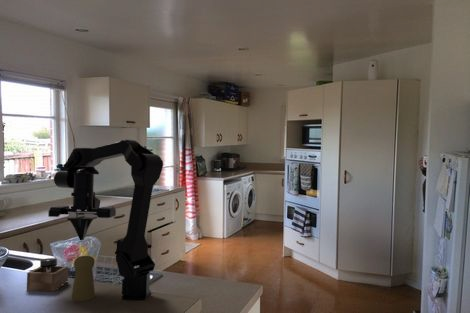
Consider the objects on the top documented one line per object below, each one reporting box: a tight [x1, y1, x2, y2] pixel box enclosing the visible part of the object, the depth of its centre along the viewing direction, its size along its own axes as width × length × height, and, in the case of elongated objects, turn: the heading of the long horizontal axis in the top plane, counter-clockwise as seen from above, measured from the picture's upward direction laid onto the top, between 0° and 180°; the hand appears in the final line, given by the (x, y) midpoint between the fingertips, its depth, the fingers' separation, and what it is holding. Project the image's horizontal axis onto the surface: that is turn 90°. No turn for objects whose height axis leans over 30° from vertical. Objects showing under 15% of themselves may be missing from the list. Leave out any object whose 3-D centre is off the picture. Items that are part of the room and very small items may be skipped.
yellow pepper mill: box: [70, 255, 96, 302], centre depth 101 cm, size 6×6×11 cm
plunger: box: [39, 257, 58, 273], centre depth 109 cm, size 6×6×7 cm
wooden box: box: [26, 265, 69, 292], centre depth 109 cm, size 8×8×5 cm
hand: (81, 240), depth 113 cm, fingers closed
